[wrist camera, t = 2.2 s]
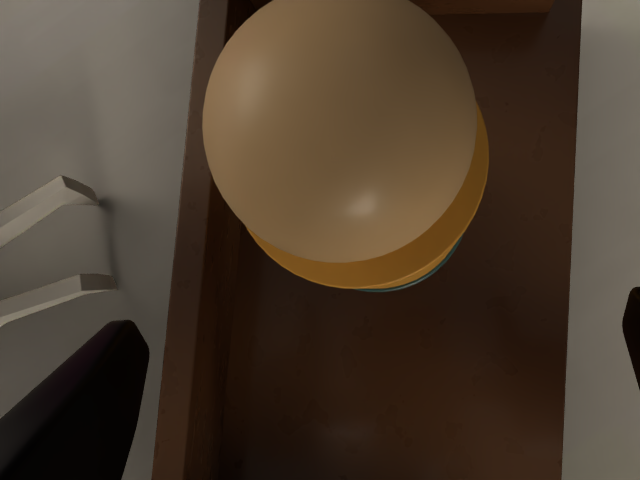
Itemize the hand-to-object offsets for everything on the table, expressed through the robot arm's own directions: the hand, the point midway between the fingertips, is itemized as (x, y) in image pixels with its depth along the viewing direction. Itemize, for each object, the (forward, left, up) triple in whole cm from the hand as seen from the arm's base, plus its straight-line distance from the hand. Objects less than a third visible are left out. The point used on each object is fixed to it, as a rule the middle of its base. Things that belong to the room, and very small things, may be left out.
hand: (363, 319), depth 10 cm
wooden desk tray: (0, 0, -11) cm, 11 cm away
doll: (+3, 0, -8) cm, 9 cm away
